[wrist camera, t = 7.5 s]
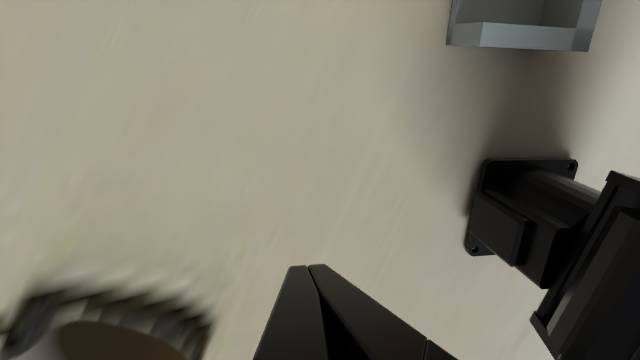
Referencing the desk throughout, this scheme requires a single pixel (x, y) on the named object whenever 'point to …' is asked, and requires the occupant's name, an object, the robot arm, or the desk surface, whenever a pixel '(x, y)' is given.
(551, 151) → the desk surface
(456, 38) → the tray
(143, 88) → the desk surface
